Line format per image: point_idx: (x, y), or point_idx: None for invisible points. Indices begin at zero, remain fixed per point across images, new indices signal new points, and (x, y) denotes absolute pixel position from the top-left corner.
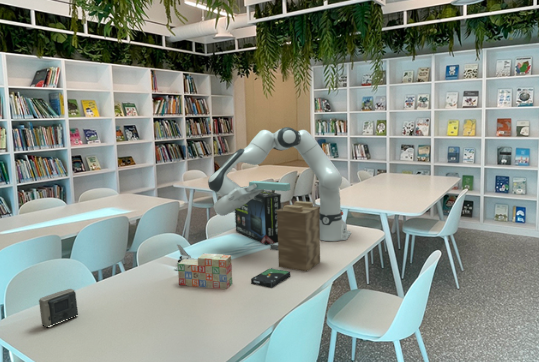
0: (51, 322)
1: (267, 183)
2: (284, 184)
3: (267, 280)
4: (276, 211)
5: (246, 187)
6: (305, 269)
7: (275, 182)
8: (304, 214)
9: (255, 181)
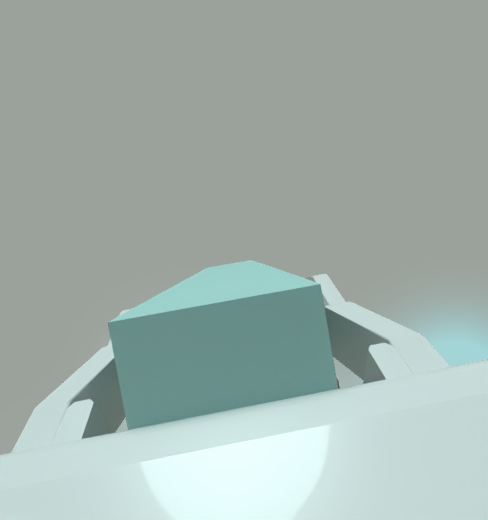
0: None
1: (263, 264)
2: (251, 260)
3: None
4: (338, 384)
5: (449, 372)
6: None
7: (202, 272)
8: None
9: (184, 296)
